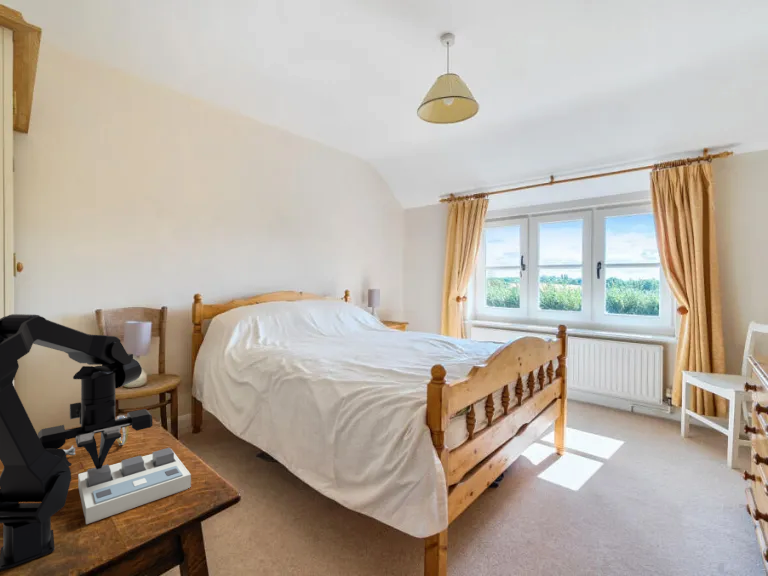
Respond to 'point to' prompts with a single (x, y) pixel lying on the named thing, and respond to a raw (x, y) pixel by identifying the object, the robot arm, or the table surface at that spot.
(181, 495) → the table surface
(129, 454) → the table surface
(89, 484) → the button left
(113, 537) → the table surface
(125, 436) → the ring
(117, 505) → the button board
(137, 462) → the button middle
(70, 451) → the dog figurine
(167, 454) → the button right
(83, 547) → the table surface
